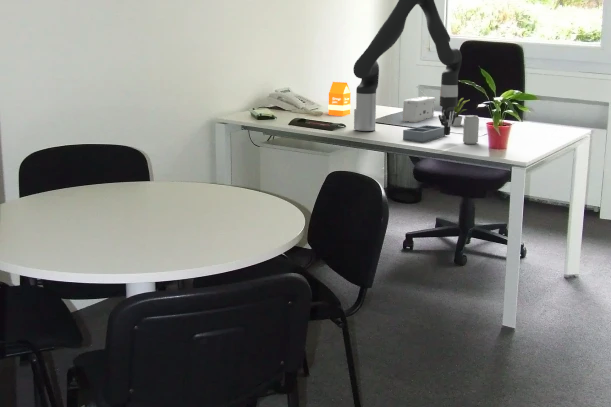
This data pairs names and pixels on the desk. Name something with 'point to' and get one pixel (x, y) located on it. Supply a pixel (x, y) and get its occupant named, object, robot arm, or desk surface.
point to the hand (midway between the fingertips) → (446, 134)
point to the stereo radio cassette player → (418, 108)
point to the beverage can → (471, 129)
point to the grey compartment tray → (423, 133)
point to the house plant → (458, 118)
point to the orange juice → (339, 99)
